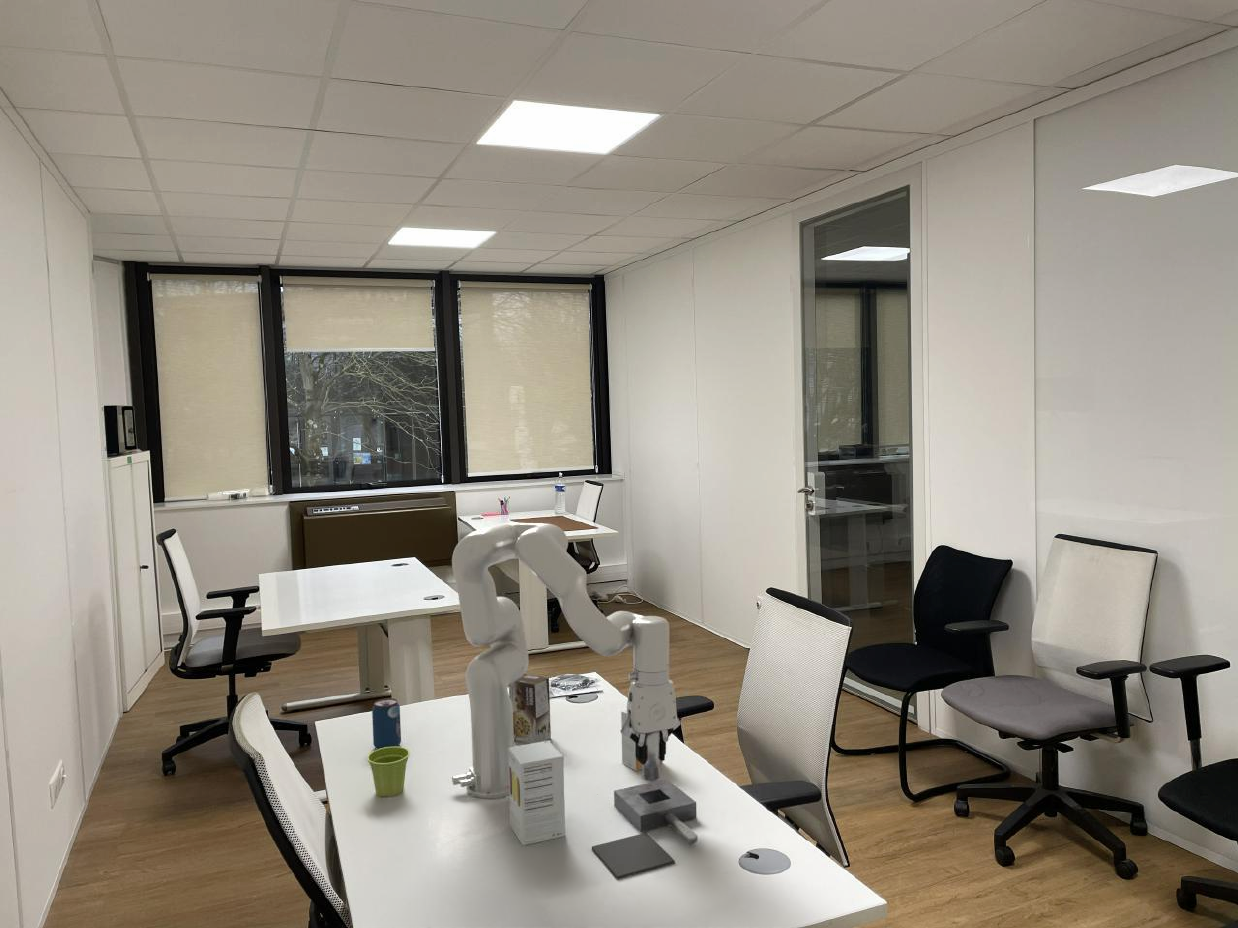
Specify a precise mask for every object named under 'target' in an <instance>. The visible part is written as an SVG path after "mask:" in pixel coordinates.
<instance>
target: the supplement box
mask: <svg viewBox="0 0 1238 928" xmlns="http://www.w3.org/2000/svg"><path fill="white" fill-rule="evenodd" d="M508 757H509V792H510V795H509V823H510V824H509V825H510V827H511V828H512V830H513V832H514V834H515V835H516V837H517V839H518V840H519V842H520V843H521V846H526V845H531V844H536V843H540V841H541V842H544V841H549V840H553V839H557V838H563V837H565V836H566V822H565V821H566V819H565V817H566V816H565V814H566V813H565V776H564V775H565V770H564V768H565V767H564V756H563V754H562V753H561V752H560V751H559V750H558V749H557V748H556V747H555V746H554V744H553V743H552V742H551V740H546V741H543V742H537V743H531V744H530V743H526V744H521V745H514V747H510V748H508Z"/></svg>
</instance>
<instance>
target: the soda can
mask: <svg viewBox="0 0 1238 928" xmlns="http://www.w3.org/2000/svg"><path fill="white" fill-rule="evenodd" d="M371 715H372V718H371V719H372V733H373V734H372V736H373V737H372V739H373V741H372V743H373V747H374V748H375V750H378V749H381V748H385V747H400V745H401V743H402V729H401V727H402V726H401V708H400V705H399V703H398V700H397V698H396V699H395V698H391V697H389V698H387V697H386V698H381V699H378V700H376V701H375V702H374V704H373V706H372V709H371Z"/></svg>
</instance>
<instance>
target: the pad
mask: <svg viewBox="0 0 1238 928" xmlns="http://www.w3.org/2000/svg"><path fill="white" fill-rule="evenodd" d="M591 850H592V852H594V854H595V855H596V856H597V858H599V860H600V861H601V862H602V863H603V864H604V866H605V867H606V868H607V869H608V870H609V872H610V873H611V874H612V875H613V876H614V877H615V879H616V880H620V879H624V878H628V877H631V876H635V875H639V874H641V873H642V874H643V873H646V872H650V871H654V870H657V869H660V868H664V867H667V866H671V865H675V864H676V860H675V859H674V858H673V857H672V856H671V855H670V854H669V853H668V852H667V851H666V850H665V848H663V847H662V846H661V845H660V844H659V843H658V842H657V841H656V840H654V839H653V837H652V836H651V835H650V834H649V833H647V832H642V833H640V834H635V835H632V836H628V837H623V838H621V839H616V840H612V841H609V842H608V841H607V842H604V843H600V844H596V845H592V846H591Z"/></svg>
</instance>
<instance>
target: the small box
mask: <svg viewBox="0 0 1238 928" xmlns="http://www.w3.org/2000/svg"><path fill="white" fill-rule="evenodd" d="M620 713H621V715H620V717H621V718H620V719H621V728H622V727H623V725H624V723H625V721H626V719H627V709H625V710H621V711H620ZM630 731H631V732H633V733H634V731H633V729H632V728H631V729H630ZM663 762H664V761H662V760H660V765H661V764H663ZM621 763H622V764H624V765H625V766H627V767H628V768H630V769H632V770H634V771H635V772H637V771H640V770H642V764H641V763H640V762H639V761H638V760H637V759H636V756H635V742H634V741H633V740H632V739H631V738H628V737H626V736H624V735H623V734H622V733H621Z"/></svg>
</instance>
